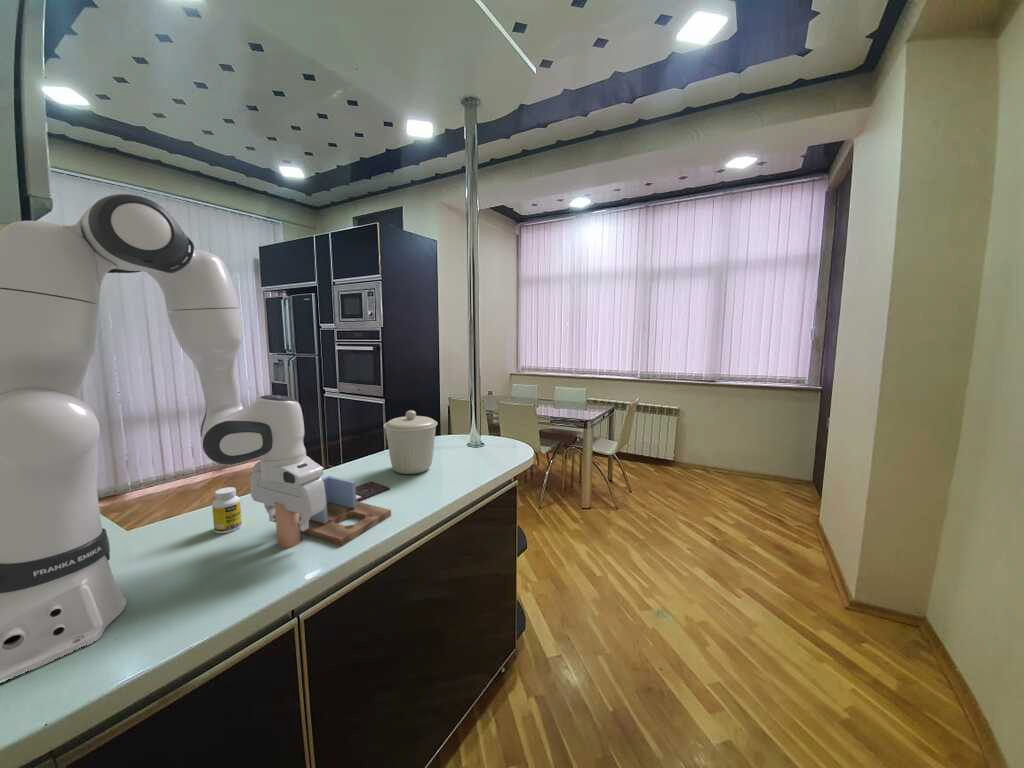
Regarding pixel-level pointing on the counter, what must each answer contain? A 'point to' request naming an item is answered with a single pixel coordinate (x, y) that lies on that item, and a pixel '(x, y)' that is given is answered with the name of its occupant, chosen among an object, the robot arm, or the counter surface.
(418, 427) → the canister
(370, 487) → the chocolate bar
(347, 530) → the socket board
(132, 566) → the counter surface
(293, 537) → the peg
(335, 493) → the housing
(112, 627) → the counter surface
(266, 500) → the robot arm
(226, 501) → the supplement bottle
